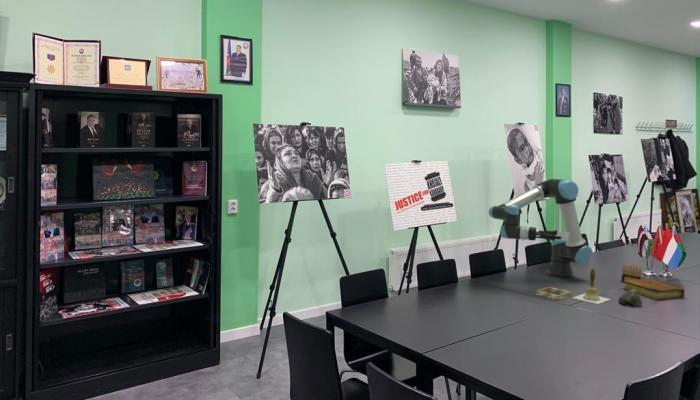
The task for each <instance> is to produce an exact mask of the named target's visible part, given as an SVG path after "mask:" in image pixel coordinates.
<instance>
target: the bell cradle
mask: <svg viewBox="0 0 700 400" xmlns="http://www.w3.org/2000/svg"><path fill="white" fill-rule="evenodd" d="M547 292H548V293H547ZM552 292H553V293H552ZM556 293H558V294H556ZM572 293H573V292H572V291H568V290H565V289H561V288H556V287H552V286H548V287H544V288H540V289H537V290H536V291H535V295H536V296H538V295H540V296H539V297H542V296H544V297H543V298H546V297H548V298H547V299H550V298H552V299H551V300H554V299H555V301H558V300H559V301H561V299H562V300H565V299H567V298H572V295H573V294H572ZM564 298H565V299H564Z"/></svg>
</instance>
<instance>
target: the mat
mask: <svg viewBox="0 0 700 400" xmlns="http://www.w3.org/2000/svg"><path fill="white" fill-rule="evenodd" d="M585 294H586V293H582V294H579V295H576V296H573V297H572V298H573V300H576V299H577V301H580V300H581V302H586V303H590V304H594V305H602V304H605V303H606V302H609V301H611V300H612V299H611V298H607V297H603V296H599V295H598V297H599V298H600V300H587V299H584V298H583V296H584V295H585Z"/></svg>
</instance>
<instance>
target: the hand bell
mask: <svg viewBox="0 0 700 400" xmlns="http://www.w3.org/2000/svg"><path fill="white" fill-rule="evenodd" d="M589 279H590V283H589V284H590V285H589V287H588V288H586V294H585V293H584V294H585V295H584V296H583V298H584V299H587V300H600V298H599V297H600V296H599V295H598V292H597V288H596V287H595V286H594V285H595V284H594V283H595V279H596V271H595V269H594V268H592V269H591V270H590V273H589ZM598 296H599V297H598Z"/></svg>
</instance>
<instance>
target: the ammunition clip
mask: <svg viewBox="0 0 700 400" xmlns="http://www.w3.org/2000/svg"><path fill="white" fill-rule="evenodd" d="M638 279H642V265H640V264H639V266H638V264H636V266H635V264H633V266H632V264H631V263H630V264H629V263H625V262H624V263H623V265H622V273H621V281H620V283H623V284H625V282H623V281H624V280H638Z"/></svg>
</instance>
